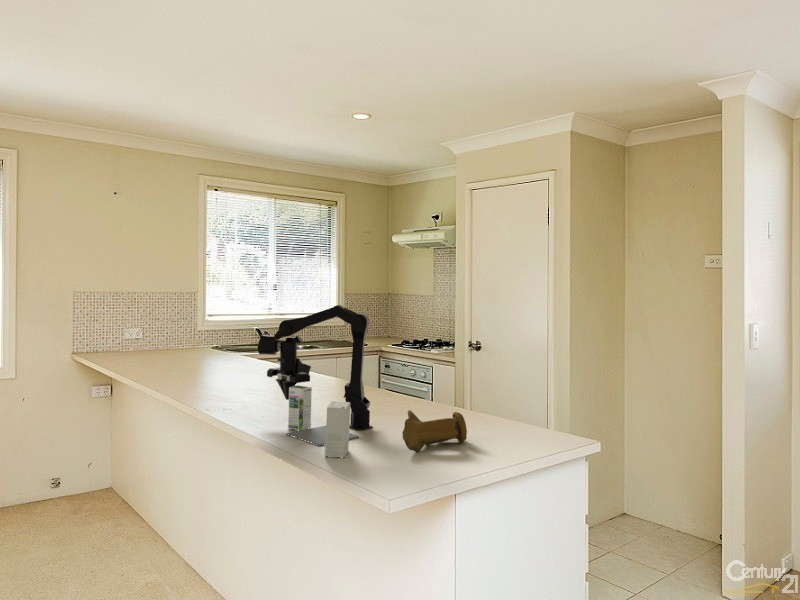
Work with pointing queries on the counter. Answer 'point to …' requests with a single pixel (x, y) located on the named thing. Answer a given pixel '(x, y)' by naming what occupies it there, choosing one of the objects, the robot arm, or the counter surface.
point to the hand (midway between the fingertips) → (287, 399)
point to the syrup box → (299, 407)
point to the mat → (315, 435)
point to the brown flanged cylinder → (433, 431)
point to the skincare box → (337, 429)
